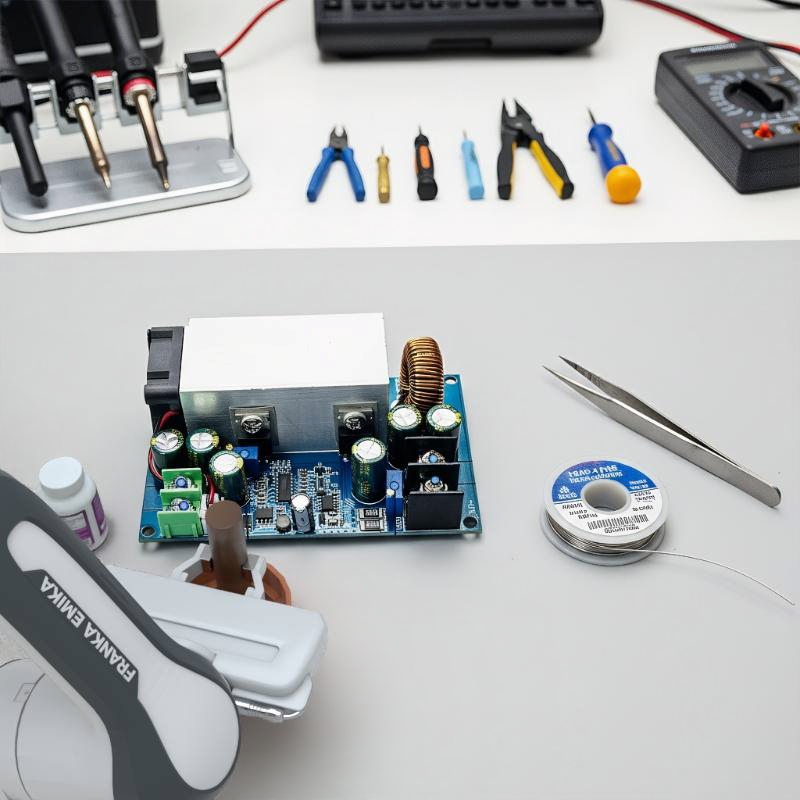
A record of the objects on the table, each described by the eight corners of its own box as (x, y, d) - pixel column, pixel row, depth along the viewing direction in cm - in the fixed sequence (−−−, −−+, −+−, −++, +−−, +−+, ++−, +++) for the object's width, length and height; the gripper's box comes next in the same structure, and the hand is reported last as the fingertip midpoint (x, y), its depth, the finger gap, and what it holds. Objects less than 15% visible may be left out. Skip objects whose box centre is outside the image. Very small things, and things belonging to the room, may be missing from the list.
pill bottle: (77, 507, 102) (57, 443, 95) (119, 526, 100) (102, 462, 93) (41, 544, 98) (18, 480, 91) (85, 564, 97) (64, 501, 90)
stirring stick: (216, 622, 90) (197, 519, 80) (236, 598, 92) (220, 494, 82) (242, 637, 89) (227, 534, 79) (262, 613, 91) (249, 509, 81)
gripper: (298, 707, 72) (350, 557, 81) (39, 644, 75) (119, 507, 85) (301, 748, 76) (350, 601, 86) (57, 687, 79) (131, 551, 89)
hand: (234, 554), depth 85 cm, fingers closed on stirring stick, 3 cm apart
